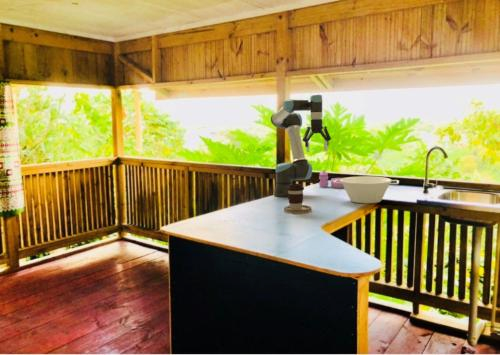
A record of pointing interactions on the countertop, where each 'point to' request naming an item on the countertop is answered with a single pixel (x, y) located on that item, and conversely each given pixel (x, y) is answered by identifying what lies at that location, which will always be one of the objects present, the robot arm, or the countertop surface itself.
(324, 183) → the container set
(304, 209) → the round tray
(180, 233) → the countertop surface
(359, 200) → the pot
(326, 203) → the countertop surface
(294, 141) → the robot arm
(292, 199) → the coffee cup
